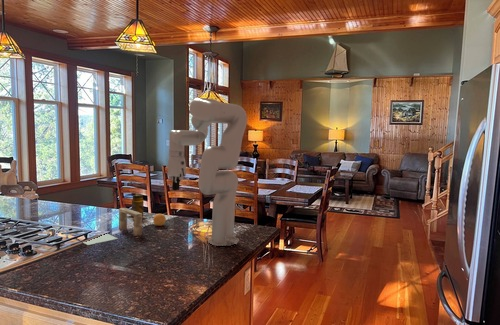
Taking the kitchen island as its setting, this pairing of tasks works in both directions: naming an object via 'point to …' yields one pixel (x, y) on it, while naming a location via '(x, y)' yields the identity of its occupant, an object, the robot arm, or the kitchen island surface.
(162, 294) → the kitchen island surface
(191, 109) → the robot arm
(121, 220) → the bridge
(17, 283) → the kitchen island surface
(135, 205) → the condiment
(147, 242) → the kitchen island surface
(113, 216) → the kitchen island surface
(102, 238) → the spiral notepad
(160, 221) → the ball
